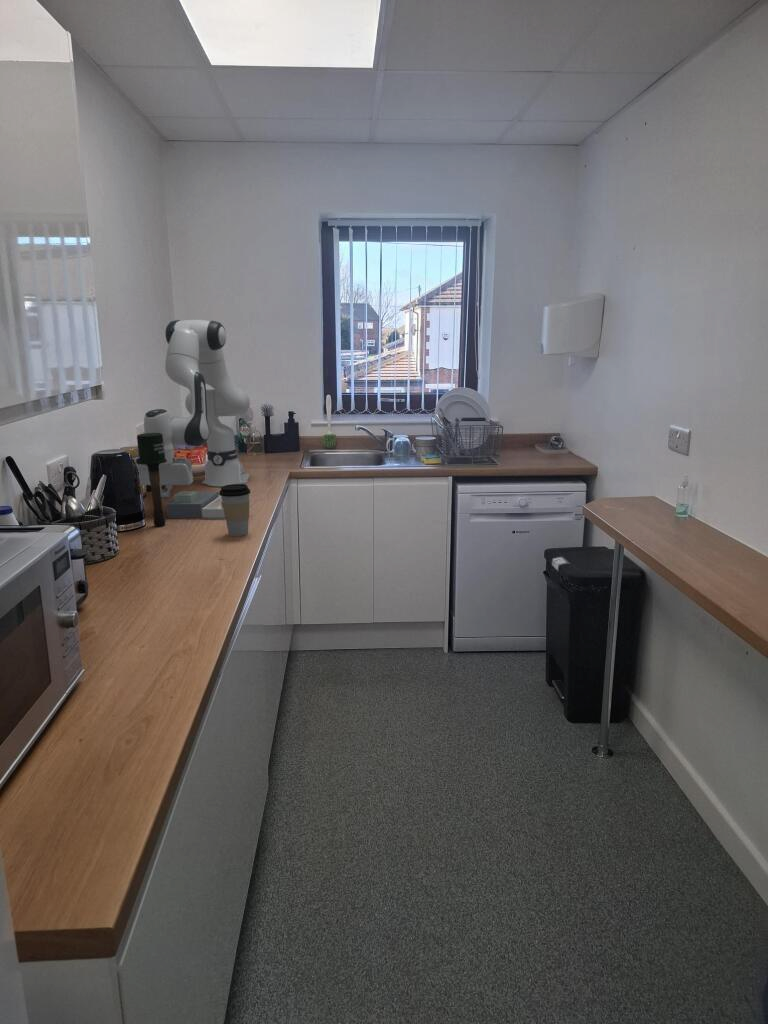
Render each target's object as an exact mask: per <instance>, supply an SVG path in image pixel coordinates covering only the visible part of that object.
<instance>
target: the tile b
mask: <svg viewBox="0 0 768 1024" xmlns="http://www.w3.org/2000/svg"><path fill="white" fill-rule="evenodd" d="M197 492H198V491H192V490H191V491H184V490H183V491H181V490H180V491H179V492H177V493H175V494H173V500H174V503H192V502H193V501H195V500H196V499H197V498H198V497H197Z"/></svg>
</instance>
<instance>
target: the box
mask: <svg viewBox="0 0 768 1024" xmlns="http://www.w3.org/2000/svg"><path fill="white" fill-rule="evenodd" d="M218 496H219V497H218V498H216V499H215V500H213V501H212V502H211V503H209V504H208V505H206V506H205V507H204V508H202V518H201V519H202V520H225V515H224V510H223V508H221V502H222V497H221V495H218Z"/></svg>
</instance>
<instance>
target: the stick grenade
mask: <svg viewBox="0 0 768 1024" xmlns="http://www.w3.org/2000/svg"><path fill="white" fill-rule="evenodd" d="M136 441H137V450H138V457H139V460H140V461H139V464H142V465H147V466H148V471H149V480H150V483H151V485H150V487H151V496H152V497H151V498H152V499H151V500H152V505H153V511H152V515H153V525H154V526H155V527H158V528H159V527H160V528H161V527H164V526H165V525H166V519H165V518H166V517H165V512H164V509H163V502H162V498H161V492H160V476H159V464H161V463H165V462H167V460H166V459H165V452H164V443H163V435H162V434H161V433H144V432H143V433H140V434H137V435H136Z"/></svg>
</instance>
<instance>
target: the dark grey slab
mask: <svg viewBox="0 0 768 1024" xmlns="http://www.w3.org/2000/svg"><path fill="white" fill-rule="evenodd" d="M219 496H220V495H219V491H197V497H198V498H197V499H196V500H195V501H193V502H192V503H174V499H172V500H171V501H169V502H167V503H166V504H165V505H166V513H167V519H202V508H204V507H205V506H206V505H208V504H209V503H211V502H212V501H213V500H215V499H216V498H218V497H219Z"/></svg>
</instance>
